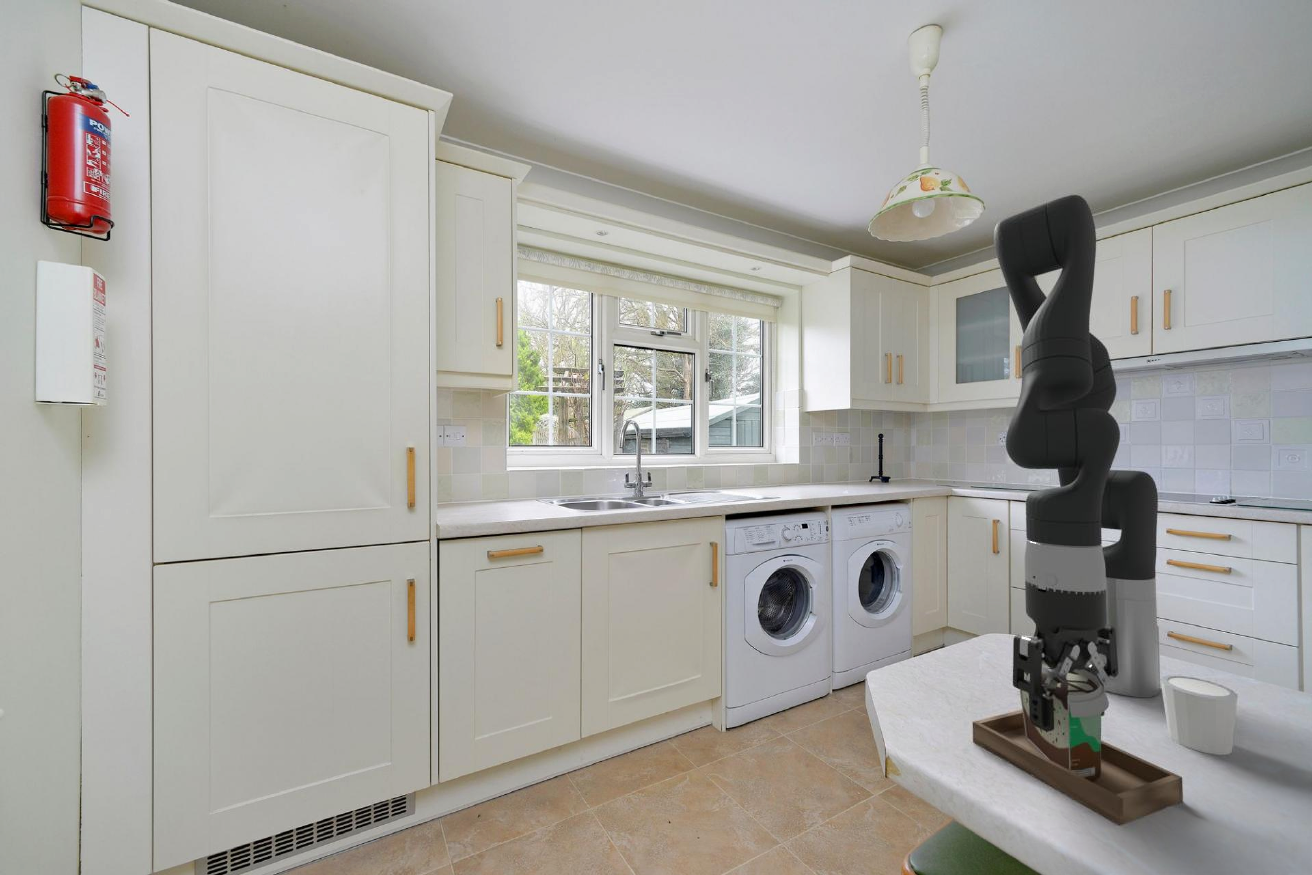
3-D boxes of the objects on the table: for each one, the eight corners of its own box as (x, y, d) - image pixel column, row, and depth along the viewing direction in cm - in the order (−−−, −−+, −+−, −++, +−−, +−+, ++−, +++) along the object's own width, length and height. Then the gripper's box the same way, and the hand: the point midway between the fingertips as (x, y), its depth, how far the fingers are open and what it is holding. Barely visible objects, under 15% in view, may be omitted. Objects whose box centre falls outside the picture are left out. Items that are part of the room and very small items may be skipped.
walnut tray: (1029, 726, 72) (1029, 707, 72) (1182, 801, 57) (1182, 777, 57) (972, 741, 68) (972, 721, 68) (1119, 825, 53) (1118, 799, 53)
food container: (1145, 794, 56) (1135, 697, 56) (1079, 793, 57) (1070, 697, 57) (1073, 732, 68) (1065, 653, 69) (1020, 732, 69) (1013, 653, 70)
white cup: (1226, 763, 63) (1224, 703, 63) (1151, 736, 69) (1150, 681, 69) (1249, 748, 66) (1247, 690, 66) (1175, 723, 72) (1174, 670, 73)
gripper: (1071, 568, 69) (1074, 696, 69) (989, 579, 64) (993, 717, 64) (1141, 581, 62) (1145, 724, 62) (1055, 595, 57) (1059, 750, 57)
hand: (1067, 720), depth 63 cm, fingers open, 8 cm apart
